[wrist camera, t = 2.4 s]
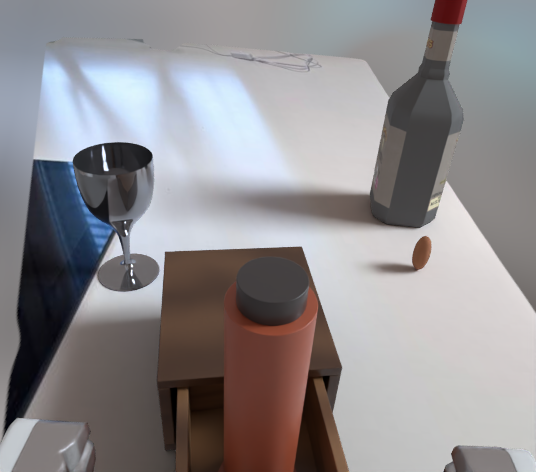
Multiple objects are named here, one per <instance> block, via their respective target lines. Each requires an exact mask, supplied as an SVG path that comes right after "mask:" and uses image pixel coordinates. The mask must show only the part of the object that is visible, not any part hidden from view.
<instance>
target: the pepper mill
mask: <svg viewBox="0 0 536 472" xmlns="http://www.w3.org/2000/svg"><path fill="white" fill-rule="evenodd" d="M317 312H318V301H317V298H316V296H315V294H314V292H313V291H312V289H311V288H310V287H309V277H308V275H307V273H306V271H305V270H304V269H303V268H302V267H301V266H300V265H298V264H297V263H295V262H293V261H291V260H288V259H285V258H280V257H261V258H256V259H253V260H251V261H249V262H247V263H245V264H244V265H243V266H242V267H241V268H240V269H239V271H238V273H237V277H236V282H234V283H233V284H232V285H231V286H230V287H229V289H228V290H227V292H226V294H225V298H224V461H223V463H222V464H221V466H220V468H219V471H218V472H296V469H295V467H294V464H295V458H296V451H297V445H298V438H299V431H300V425H301V418H302V411H303V405H304V398H305V392H306V385H307V378H308V372H309V365H310V358H311V352H312V345H313V338H314V332H315V325H316V319H317Z"/></svg>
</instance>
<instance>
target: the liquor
mask: <svg viewBox="0 0 536 472" xmlns="http://www.w3.org/2000/svg"><path fill="white" fill-rule="evenodd" d="M466 3H467V0H435V4H434V8H433V12H432V17H431V20H432V25H431V29H430V33H429V37H428V41H427V46H426V50H425V54H424V58H423V62H422V64H421V65H420V67H419V71H418V73H417V74H416V75H415V76H413V77H412V78H411V79H409V80H408V81H407V82H406V83H404V84H403V85H402V86H401V87H400V88H398V89H397V90H396V91H394V92H393V94H392V95H391V97H390V99H389V100H388V105H387V110H386V115H385V120H384V125H383V130H382V135H381V140H380V146H379V151H378V156H377V161H376V166H375V171H374V176H373V181H372V186H371V191H370V200H371V207H372V213H373V216H374V217H375V218H377V219H379V220H381V221H382V222H384V223H386V224H391V225H400V226H410V227H422V226H424V225H426V224H428V223H430V222H431V221H432V220H433V219H434V218H435V216H436V212H437V209H438V205H439V202H440V199H441V195H442V192H443V188H444V185H445V182H446V178H447V175H448V171H449V168H450V164H451V161H452V158H453V154H454V151H455V148H456V144H457V141H458V137H459V134H460V131H461V127H462V124H463V120H464V118H463V109H462V107H461V105H460V103H459V101H458V99H457V97H456V95H455V93H454V91H453V89H452V86H451V85H450V82H449V80H448V78H449V75H450V73H449V66H450V61H451V57H452V53H453V49H454V44H455V41H456V37H457V33H458V28H459V24H461V23H462V19H463V15H464V11H465V7H466Z"/></svg>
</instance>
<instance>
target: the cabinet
mask: <svg viewBox="0 0 536 472" xmlns="http://www.w3.org/2000/svg"><path fill="white" fill-rule="evenodd" d="M261 257H280V258H285V259H288V260H291V261H293V262H295V263H297V264H298V265H300V266H301V267H302V268H303V269H304V270H305V271H306V273H307V275H308V277H309V287H310V288H311V289H312V291H313V292H314V294H315V296H316V298H317V301H318V312H317V319H316V325H315V332H314V338H313V345H312V352H311V358H310V365H309V372H308V377H315V376H322V378H323V382H324V385H325V389H326V392H327V396H328V399H329V403H330V406H331V410H332V413H333V409H334V404H335V399H336V394H337V389H338V385H339V380H340V374H341V370H342V366H341V363H340V360H339V357H338V354H337V351H336V348H335V345H334V342H333V339H332V336H331V333H330V330H329V327H328V324H327V321H326V318H325V315H324V312H323V309H322V306H321V303H320V300H319V297H318V294H317V291H316V288H315V285H314V282H313V279H312V276H311V273H310V270H309V267H308V264H307V261H306V258H305V255H304V252H303V249H302V247H279V248H253V249H227V250H201V251H175V252H165V262H164V278H163V294H162V310H161V325H160V341H159V357H158V372H157V386H158V394H159V403H160V411H161V420H162V428H163V437H164V444H165V450H166V451H168V450H176V424H177V387H187V386H200V385H213V384H224V298H225V294H226V292H227V290H228V289H229V287H230V286H231V285H232V284H233V283H234V282H236V277H237V273H238V271H239V269H240V268H241V267H242V266H243V265H244V264H245V263H247V262H249V261H251V260H253V259H256V258H261Z"/></svg>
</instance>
